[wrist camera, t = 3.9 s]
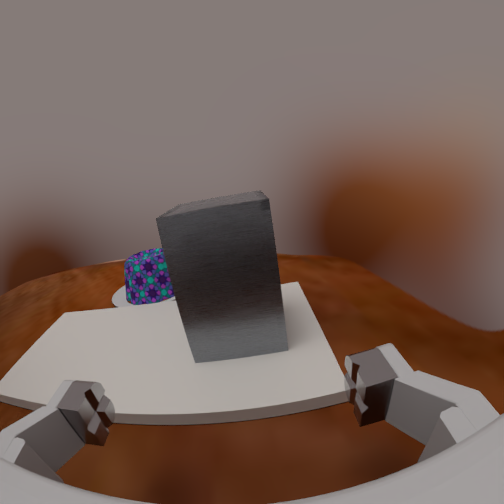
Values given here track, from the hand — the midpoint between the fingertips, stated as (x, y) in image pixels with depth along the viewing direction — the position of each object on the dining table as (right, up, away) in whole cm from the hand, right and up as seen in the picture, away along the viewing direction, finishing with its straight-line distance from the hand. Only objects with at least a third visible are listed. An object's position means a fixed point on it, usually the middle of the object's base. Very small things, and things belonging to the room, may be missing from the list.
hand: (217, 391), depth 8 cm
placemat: (-8, -4, +14) cm, 16 cm away
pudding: (-11, -1, +27) cm, 30 cm away
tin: (0, -2, +13) cm, 13 cm away
